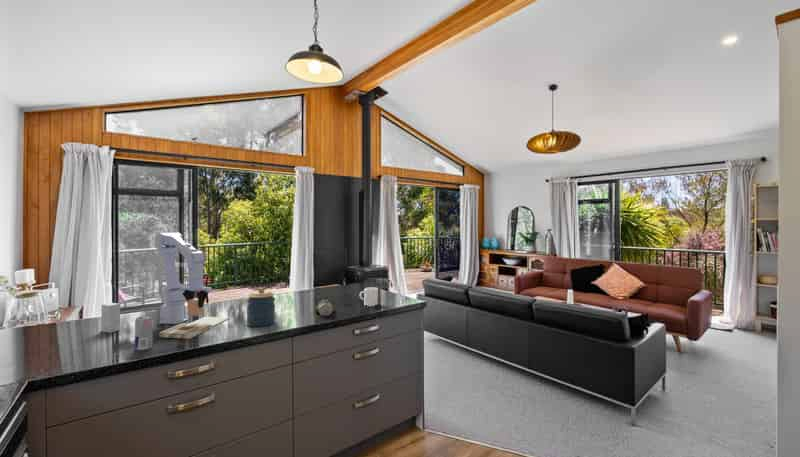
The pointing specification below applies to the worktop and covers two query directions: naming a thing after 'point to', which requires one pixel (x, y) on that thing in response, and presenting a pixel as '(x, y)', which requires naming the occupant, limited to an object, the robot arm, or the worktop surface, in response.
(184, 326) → the socket block
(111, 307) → the skincare box
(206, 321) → the sage mat
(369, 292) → the mug
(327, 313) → the ceramic sculpture
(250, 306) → the canister
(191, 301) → the peg
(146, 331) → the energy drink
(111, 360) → the worktop surface
